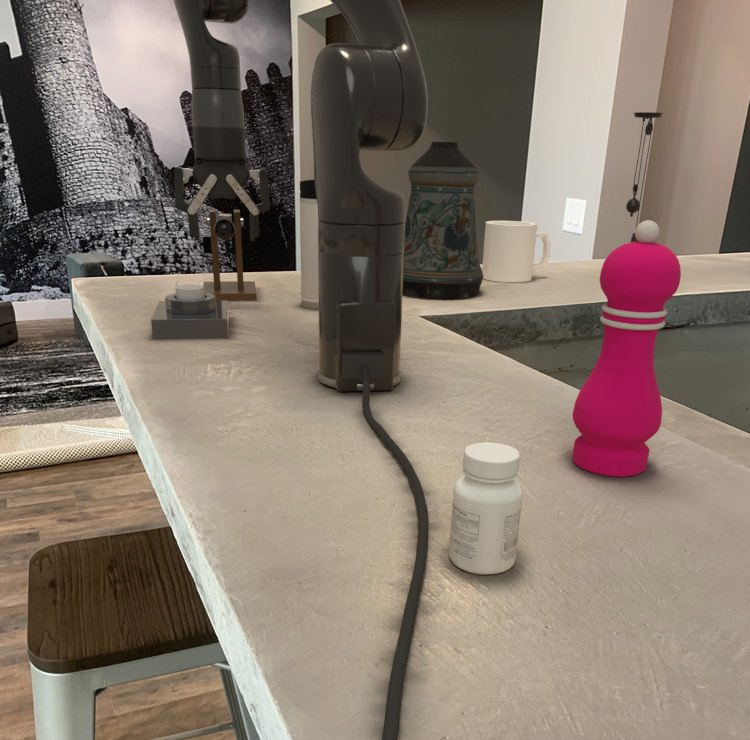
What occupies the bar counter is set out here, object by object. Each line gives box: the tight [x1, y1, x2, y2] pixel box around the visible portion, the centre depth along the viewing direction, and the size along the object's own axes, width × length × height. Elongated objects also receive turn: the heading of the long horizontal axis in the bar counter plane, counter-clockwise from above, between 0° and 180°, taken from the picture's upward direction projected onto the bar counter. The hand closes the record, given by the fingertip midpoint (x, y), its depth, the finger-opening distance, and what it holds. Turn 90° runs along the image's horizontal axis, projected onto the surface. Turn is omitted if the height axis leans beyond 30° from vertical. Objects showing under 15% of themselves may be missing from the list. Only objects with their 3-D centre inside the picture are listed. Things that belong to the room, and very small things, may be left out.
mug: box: [481, 220, 552, 283], centre depth 155 cm, size 14×10×11 cm
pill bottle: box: [448, 441, 524, 575], centre depth 49 cm, size 4×4×8 cm
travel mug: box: [299, 179, 319, 310], centre depth 122 cm, size 6×7×20 cm
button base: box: [150, 292, 230, 340], centre depth 109 cm, size 13×10×4 cm
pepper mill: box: [571, 219, 682, 478], centre depth 62 cm, size 7×7×20 cm
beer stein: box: [402, 141, 483, 300], centre depth 137 cm, size 16×19×25 cm
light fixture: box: [625, 111, 664, 242], centre depth 163 cm, size 10×8×31 cm
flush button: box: [174, 283, 205, 300], centre depth 107 cm, size 4×4×2 cm
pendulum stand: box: [202, 208, 258, 302], centre depth 131 cm, size 12×9×14 cm
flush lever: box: [214, 213, 235, 241], centre depth 123 cm, size 14×3×3 cm, turn 9°
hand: (225, 240), depth 119 cm, fingers open, 8 cm apart
